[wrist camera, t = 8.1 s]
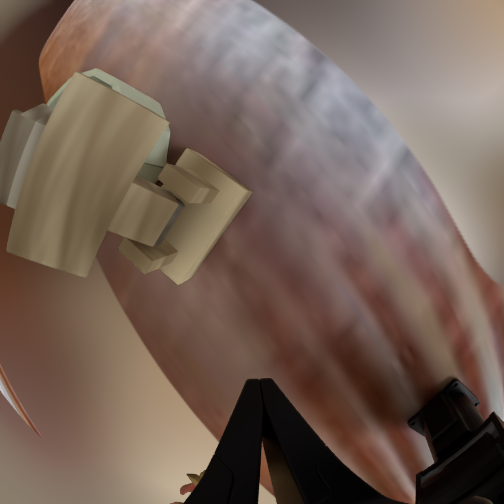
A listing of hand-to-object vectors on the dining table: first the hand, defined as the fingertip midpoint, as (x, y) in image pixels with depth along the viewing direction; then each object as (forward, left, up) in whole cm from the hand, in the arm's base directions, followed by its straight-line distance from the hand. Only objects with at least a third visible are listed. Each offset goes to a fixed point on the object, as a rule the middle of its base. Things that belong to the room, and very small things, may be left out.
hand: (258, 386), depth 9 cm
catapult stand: (+9, 0, -12) cm, 15 cm away
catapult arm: (+9, 0, -8) cm, 13 cm away
